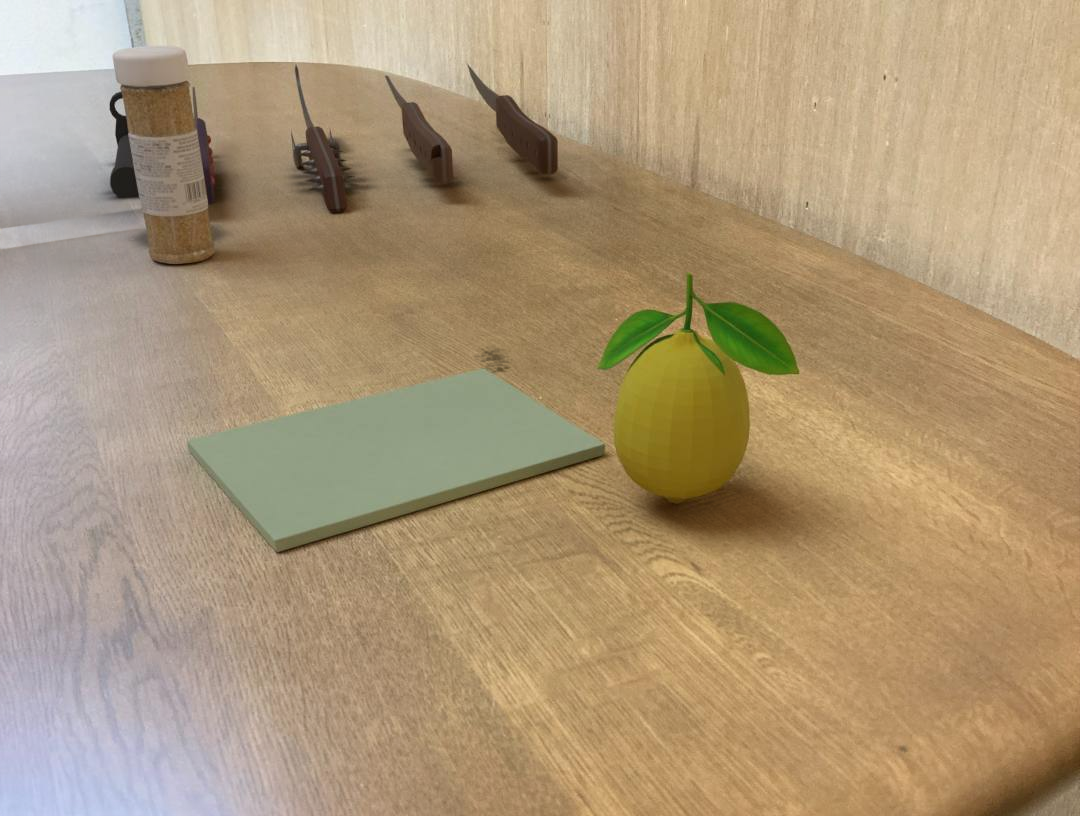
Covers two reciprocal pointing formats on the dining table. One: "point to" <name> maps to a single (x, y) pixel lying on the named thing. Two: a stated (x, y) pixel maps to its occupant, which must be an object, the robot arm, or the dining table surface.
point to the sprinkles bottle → (165, 152)
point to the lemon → (690, 394)
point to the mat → (387, 455)
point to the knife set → (326, 154)
